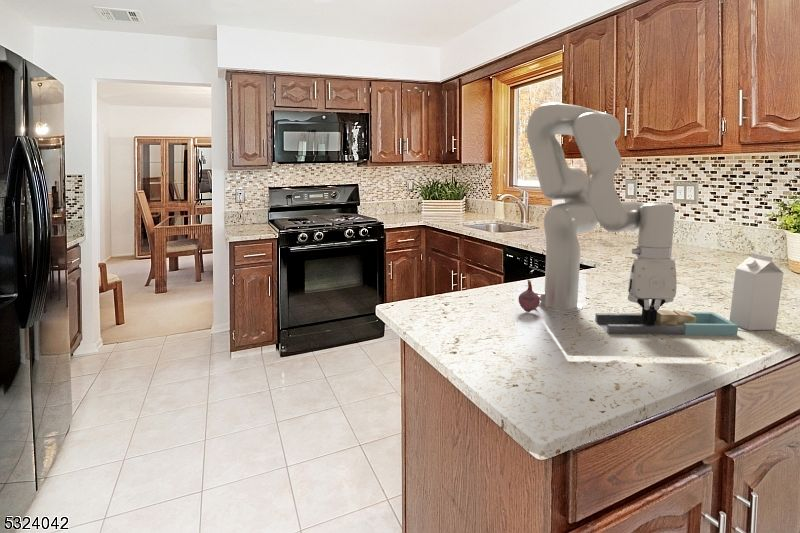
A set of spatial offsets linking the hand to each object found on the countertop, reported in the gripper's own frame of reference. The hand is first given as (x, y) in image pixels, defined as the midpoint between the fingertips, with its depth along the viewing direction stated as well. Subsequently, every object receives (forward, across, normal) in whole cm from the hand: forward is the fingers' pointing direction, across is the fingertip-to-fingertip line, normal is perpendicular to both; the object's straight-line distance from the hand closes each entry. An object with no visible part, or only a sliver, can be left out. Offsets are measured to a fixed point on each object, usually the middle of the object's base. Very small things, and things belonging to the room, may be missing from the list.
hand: (648, 323), depth 123 cm
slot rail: (+2, -3, 0) cm, 3 cm away
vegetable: (+2, -28, +15) cm, 32 cm away
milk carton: (+2, +28, +5) cm, 29 cm away
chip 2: (+1, +8, 0) cm, 8 cm away
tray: (+2, +12, 0) cm, 13 cm away
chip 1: (+1, +4, 0) cm, 4 cm away
